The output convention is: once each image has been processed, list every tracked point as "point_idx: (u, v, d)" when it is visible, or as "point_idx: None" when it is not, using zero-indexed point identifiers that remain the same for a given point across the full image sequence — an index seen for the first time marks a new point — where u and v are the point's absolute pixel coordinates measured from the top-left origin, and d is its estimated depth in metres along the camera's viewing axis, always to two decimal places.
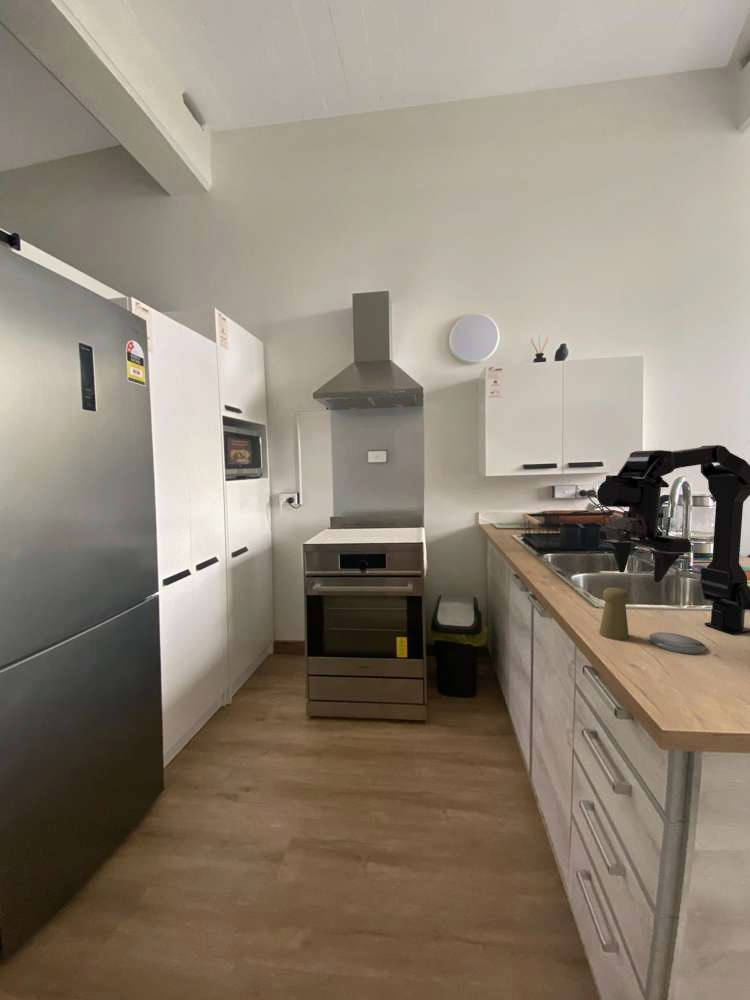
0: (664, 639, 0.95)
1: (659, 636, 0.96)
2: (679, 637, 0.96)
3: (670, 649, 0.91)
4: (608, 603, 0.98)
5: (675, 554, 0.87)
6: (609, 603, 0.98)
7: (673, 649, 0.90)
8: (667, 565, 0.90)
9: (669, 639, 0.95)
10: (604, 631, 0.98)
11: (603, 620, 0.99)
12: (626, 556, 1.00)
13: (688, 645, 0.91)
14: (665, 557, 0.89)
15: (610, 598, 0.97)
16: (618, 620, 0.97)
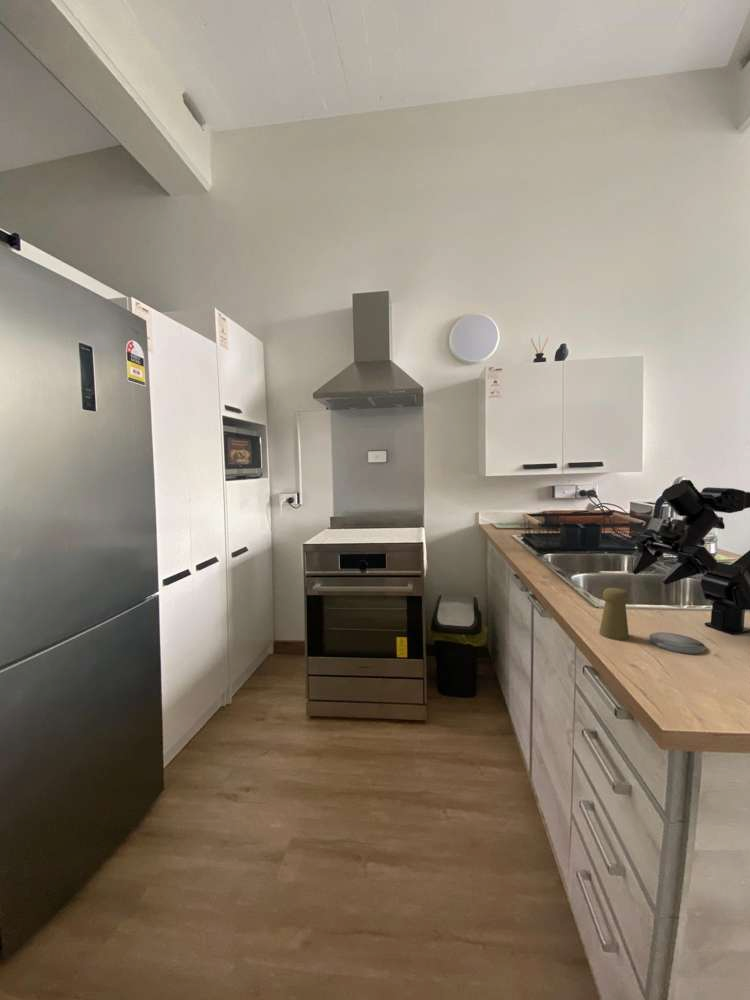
0: (664, 639, 0.95)
1: (659, 636, 0.96)
2: (679, 637, 0.96)
3: (670, 649, 0.91)
4: (608, 603, 0.98)
5: (697, 565, 0.92)
6: (609, 603, 0.98)
7: (673, 649, 0.90)
8: (682, 574, 0.94)
9: (669, 639, 0.95)
10: (604, 631, 0.98)
11: (603, 620, 0.99)
12: (646, 565, 1.04)
13: (688, 645, 0.91)
14: (685, 567, 0.94)
15: (610, 598, 0.97)
16: (618, 620, 0.97)
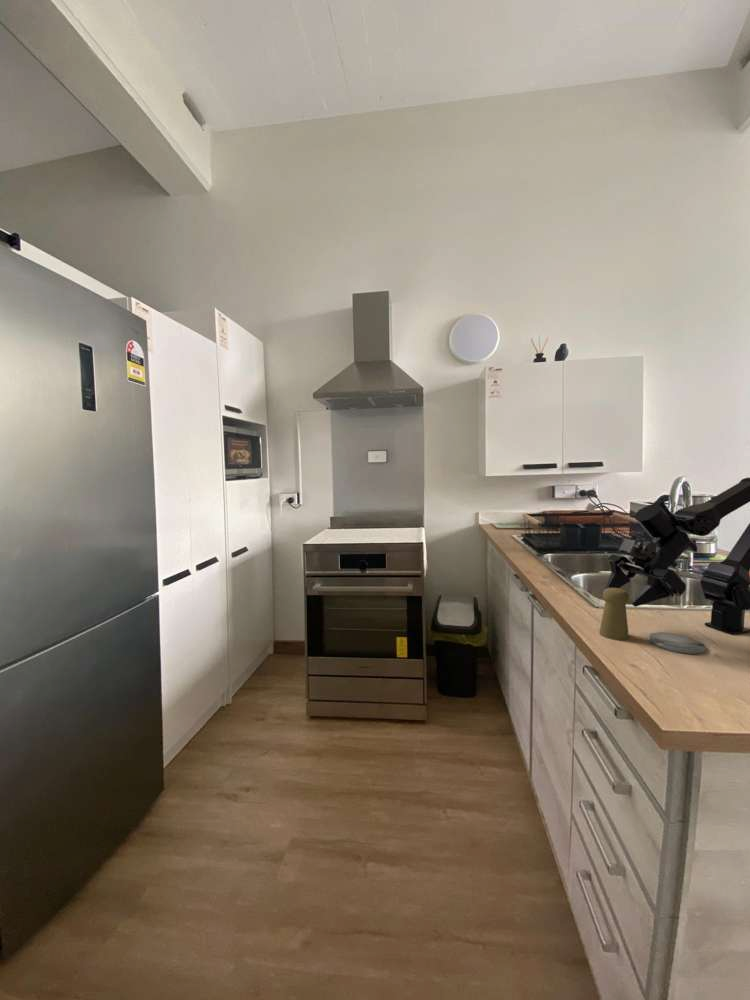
0: (664, 639, 0.95)
1: (659, 636, 0.96)
2: (679, 637, 0.96)
3: (670, 649, 0.91)
4: (608, 603, 0.98)
5: (666, 588, 0.91)
6: (609, 603, 0.98)
7: (673, 649, 0.90)
8: (652, 597, 0.93)
9: (669, 639, 0.95)
10: (604, 631, 0.98)
11: (603, 620, 0.99)
12: (618, 585, 1.04)
13: (688, 645, 0.91)
14: (655, 589, 0.94)
15: (610, 598, 0.97)
16: (618, 620, 0.97)
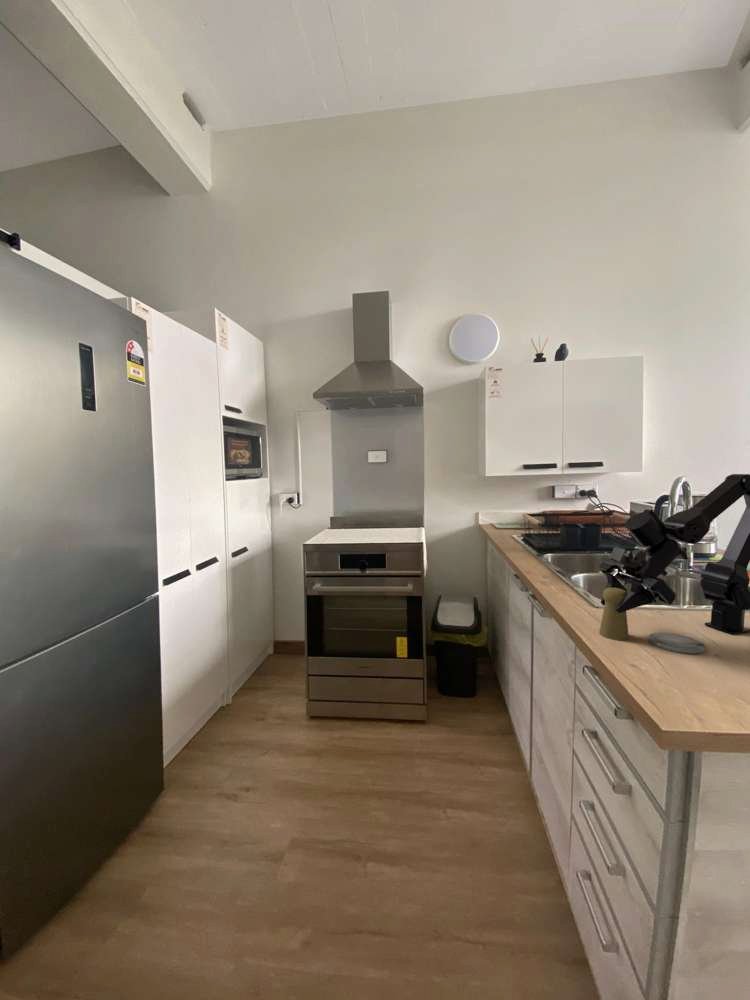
0: (664, 639, 0.95)
1: (659, 636, 0.96)
2: (679, 637, 0.96)
3: (670, 649, 0.91)
4: (608, 603, 0.98)
5: (649, 595, 0.93)
6: (609, 603, 0.98)
7: (673, 649, 0.90)
8: (635, 603, 0.95)
9: (669, 639, 0.95)
10: (604, 631, 0.98)
11: (603, 620, 0.99)
12: None
13: (688, 645, 0.91)
14: (639, 596, 0.95)
15: (610, 598, 0.97)
16: (618, 619, 0.97)
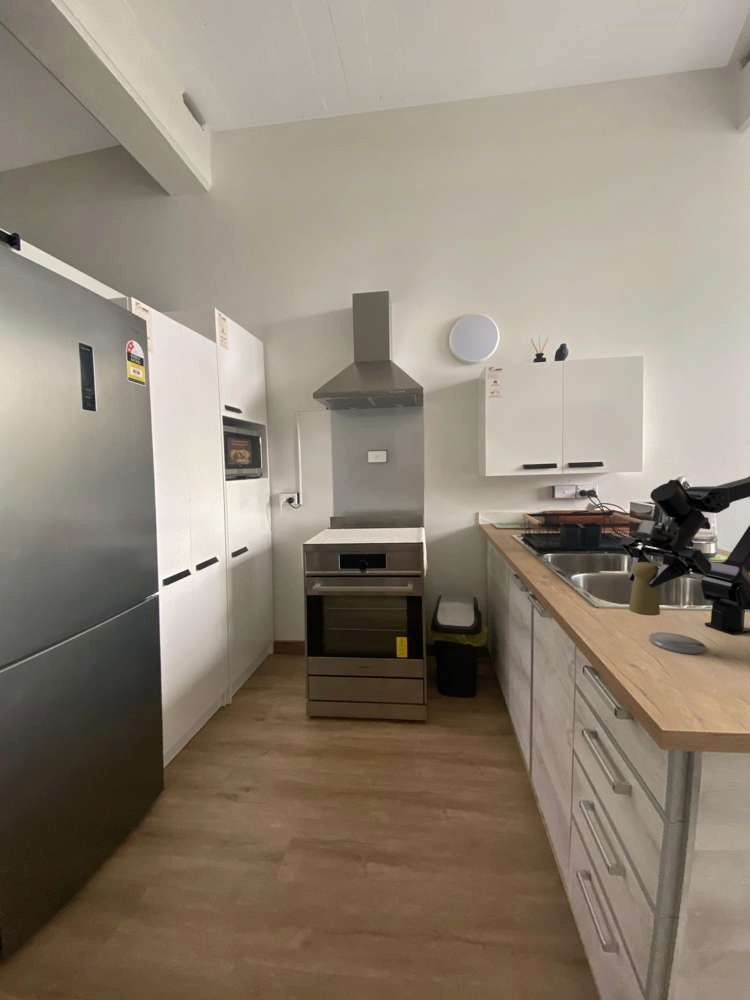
0: (664, 639, 0.95)
1: (659, 636, 0.96)
2: (679, 637, 0.96)
3: (670, 649, 0.91)
4: (639, 578, 0.95)
5: (684, 566, 0.90)
6: (640, 578, 0.95)
7: (673, 649, 0.90)
8: (668, 576, 0.92)
9: (669, 639, 0.95)
10: (636, 608, 0.95)
11: (634, 596, 0.96)
12: None
13: (688, 645, 0.91)
14: (671, 568, 0.92)
15: (642, 573, 0.94)
16: (651, 594, 0.93)
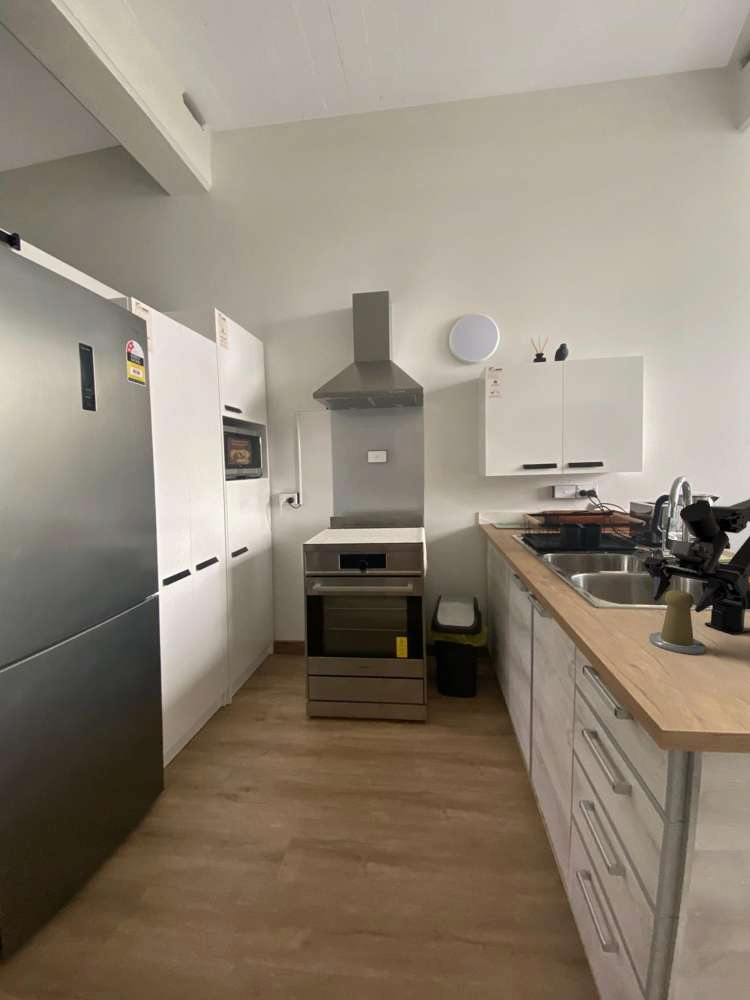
0: None
1: (659, 636, 0.96)
2: None
3: (670, 649, 0.91)
4: (675, 607, 0.92)
5: (729, 590, 0.88)
6: (676, 608, 0.92)
7: (673, 649, 0.90)
8: (712, 600, 0.89)
9: None
10: (672, 638, 0.92)
11: (669, 626, 0.93)
12: (663, 590, 0.98)
13: None
14: (714, 592, 0.90)
15: (679, 602, 0.91)
16: (687, 624, 0.91)
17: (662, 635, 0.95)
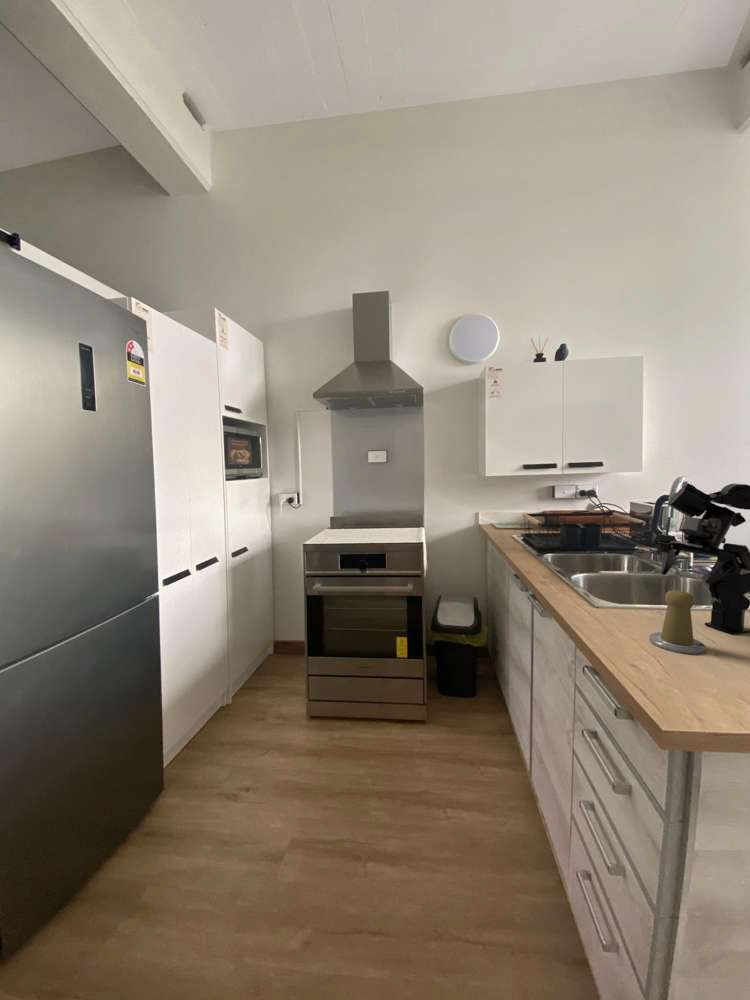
0: None
1: (659, 636, 0.96)
2: None
3: (670, 649, 0.91)
4: (675, 607, 0.92)
5: (738, 563, 0.93)
6: (676, 608, 0.92)
7: (673, 649, 0.90)
8: (722, 573, 0.94)
9: None
10: (672, 638, 0.92)
11: (669, 626, 0.93)
12: (670, 564, 1.04)
13: None
14: (724, 565, 0.95)
15: (679, 602, 0.91)
16: (687, 624, 0.91)
17: (662, 635, 0.95)
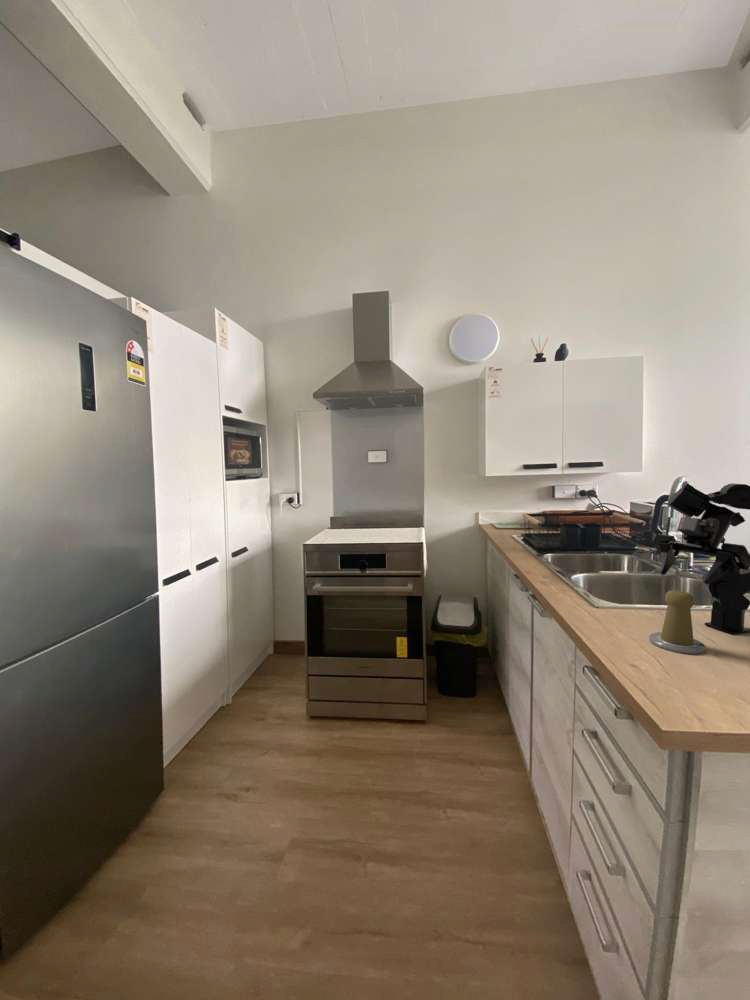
0: None
1: (659, 636, 0.96)
2: None
3: (670, 649, 0.91)
4: (675, 607, 0.92)
5: (736, 563, 0.93)
6: (676, 608, 0.92)
7: (673, 649, 0.90)
8: (721, 573, 0.94)
9: None
10: (672, 638, 0.92)
11: (669, 626, 0.93)
12: (670, 565, 1.04)
13: None
14: (722, 565, 0.95)
15: (679, 602, 0.91)
16: (687, 624, 0.91)
17: (662, 635, 0.95)
